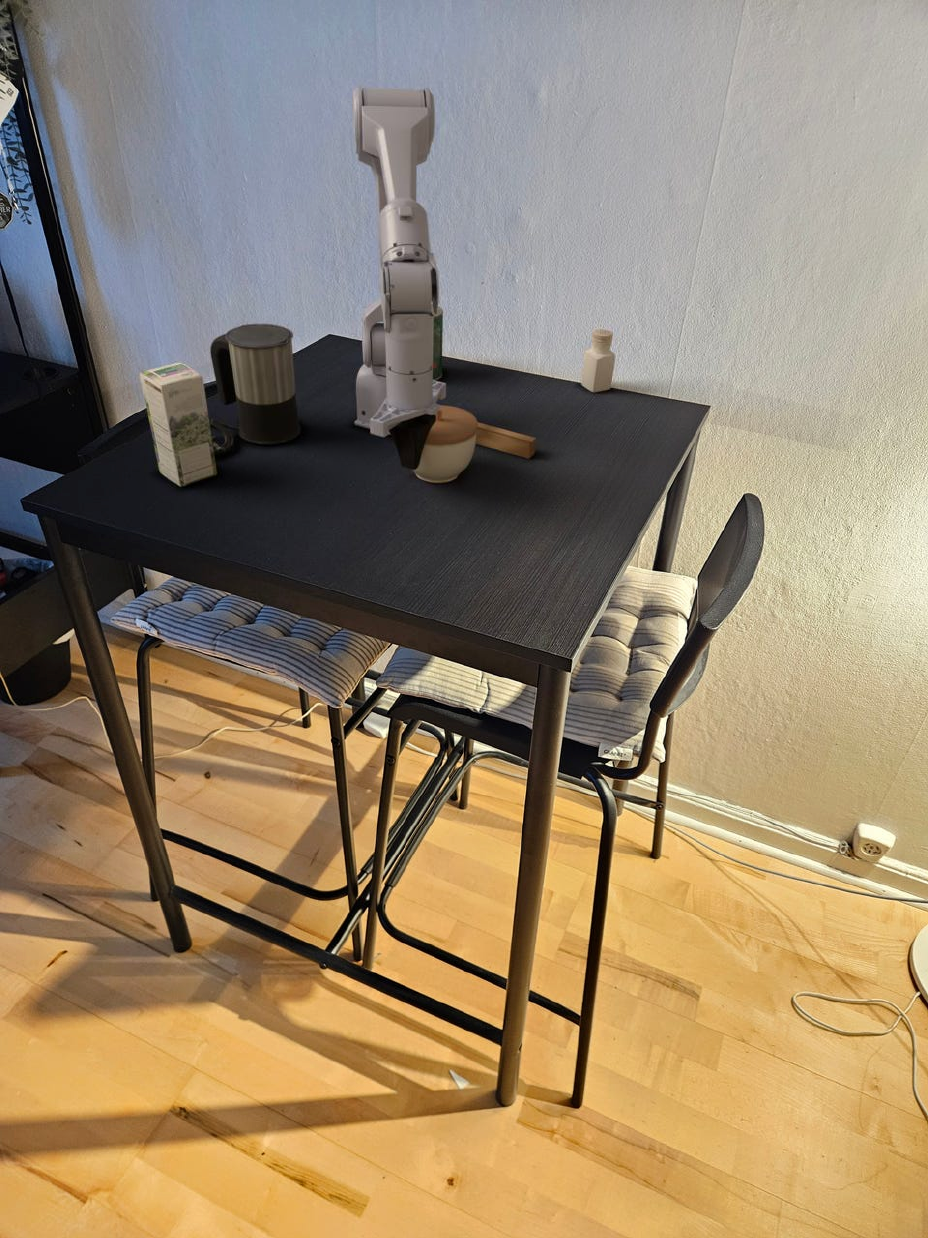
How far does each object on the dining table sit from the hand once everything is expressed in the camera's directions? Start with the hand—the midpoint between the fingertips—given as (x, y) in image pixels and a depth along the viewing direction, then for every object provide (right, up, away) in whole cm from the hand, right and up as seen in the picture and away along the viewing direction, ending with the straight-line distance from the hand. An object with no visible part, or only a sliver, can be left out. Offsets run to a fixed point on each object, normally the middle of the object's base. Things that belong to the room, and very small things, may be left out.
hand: (410, 466), depth 110 cm
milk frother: (-25, +6, +13) cm, 29 cm away
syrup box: (-31, 0, +5) cm, 31 cm away
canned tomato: (-1, +22, +35) cm, 42 cm away
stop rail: (+10, +6, +15) cm, 19 cm away
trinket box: (+3, 0, +7) cm, 8 cm away
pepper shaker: (+30, +19, +33) cm, 48 cm away
